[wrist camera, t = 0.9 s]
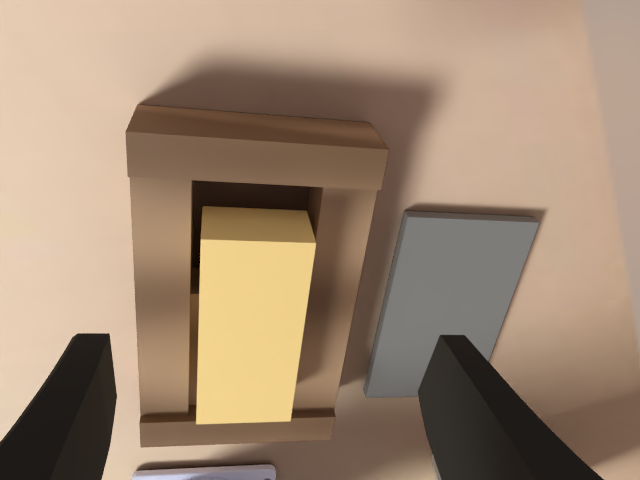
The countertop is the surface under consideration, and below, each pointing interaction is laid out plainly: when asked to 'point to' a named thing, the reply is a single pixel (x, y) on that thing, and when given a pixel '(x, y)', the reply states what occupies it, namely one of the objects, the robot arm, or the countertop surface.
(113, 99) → the countertop surface
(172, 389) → the pocket board
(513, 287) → the mat
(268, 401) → the bar
